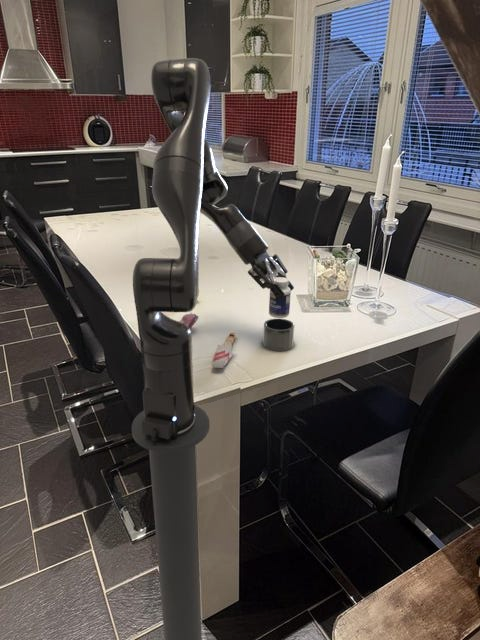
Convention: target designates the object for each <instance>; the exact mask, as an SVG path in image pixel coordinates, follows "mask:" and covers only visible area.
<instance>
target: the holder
mask: <svg viewBox="0 0 480 640" xmlns="http://www.w3.org/2000/svg"><path fill="white" fill-rule="evenodd" d="M262 338H263V339H262V341H263V344H262V345H263V347H264V348H265V349H267V350H269V351H272V352H286V351H290V350H291V349H292V348H293V346H294V341H295V340H294V339H295V322H292V321H291V320H288V319H287V318H269V319H267V320H265V321H264V323H263V337H262Z"/></svg>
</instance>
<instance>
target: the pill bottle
mask: <svg viewBox="0 0 480 640" xmlns="http://www.w3.org/2000/svg"><path fill="white" fill-rule="evenodd" d="M273 278H274V280H275V282H276V283H277V284H278V286H279V287H280V288H281V290H282V291H283V292H284V293H285V295H284V296H283V297H282V298H281V299H277V298H276V297H275V295H274V294H273V293H272V291H271V290H270V289H269V300H268V301H269V302H268V303H269V304H268V314H269V316H270V317H271V318H272V317H273V318H274V319H286V318H288V316H289V315H290V307H291V294H292V293H291V292H292V290H291V289H290V288H289V287H288V284H289V281H290V280H289V278H288V277H287V278H284V277H276V278H275V277H273ZM276 283H275V284H276Z"/></svg>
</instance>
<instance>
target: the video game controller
mask: <svg viewBox="0 0 480 640" xmlns="http://www.w3.org/2000/svg"><path fill="white" fill-rule="evenodd" d="M198 320H199V315H197V314H195V313H193V312H192V311H190V312H189V313H188V314H184V315H183V316H182V317H181V318H180V320H179V321H178V322H180V323H183V324H184V325H186V326H187V327H188V328H189V329H190V331H192V328H193V327H194V325H195V324H196V323H197V321H198Z"/></svg>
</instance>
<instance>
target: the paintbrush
mask: <svg viewBox="0 0 480 640" xmlns="http://www.w3.org/2000/svg"><path fill="white" fill-rule="evenodd" d="M235 339H236V333H235V332H230V333H229V334H228V336H227V338H226V340H225V342H224V344H217V346H216V350H215V353H214V356H213V360H212V363H211V368H218V369H220V368H221V369H223V368H224V367H225V366H226V365H227V364H228V363H229V361H230V360H231V359H232V358H233V344H234V341H235Z"/></svg>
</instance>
